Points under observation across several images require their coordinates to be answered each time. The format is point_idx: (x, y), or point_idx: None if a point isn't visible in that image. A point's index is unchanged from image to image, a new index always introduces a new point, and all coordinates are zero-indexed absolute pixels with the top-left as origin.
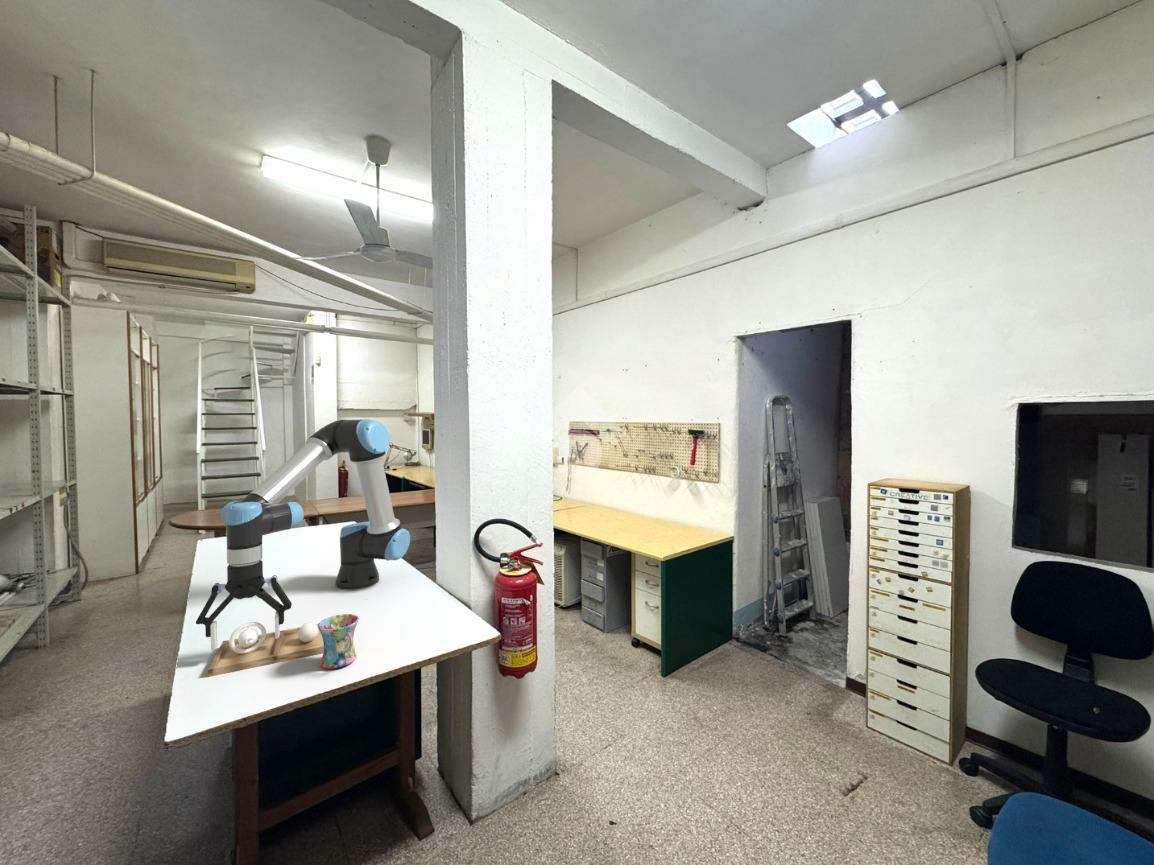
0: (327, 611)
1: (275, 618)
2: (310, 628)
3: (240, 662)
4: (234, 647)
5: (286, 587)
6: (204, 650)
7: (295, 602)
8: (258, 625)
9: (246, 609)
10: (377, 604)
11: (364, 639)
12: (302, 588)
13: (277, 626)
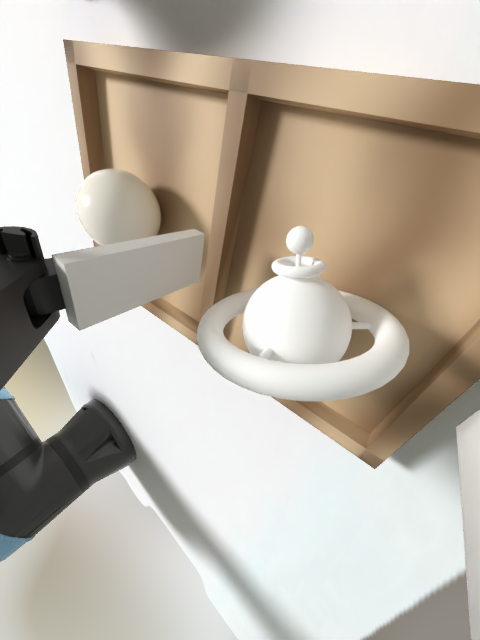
0: (137, 374)
1: (94, 254)
2: (85, 180)
3: (429, 96)
4: (384, 317)
5: (193, 528)
6: (442, 498)
7: (184, 470)
8: (209, 329)
9: (258, 546)
10: None
11: (52, 106)
12: (174, 499)
13: (143, 241)
